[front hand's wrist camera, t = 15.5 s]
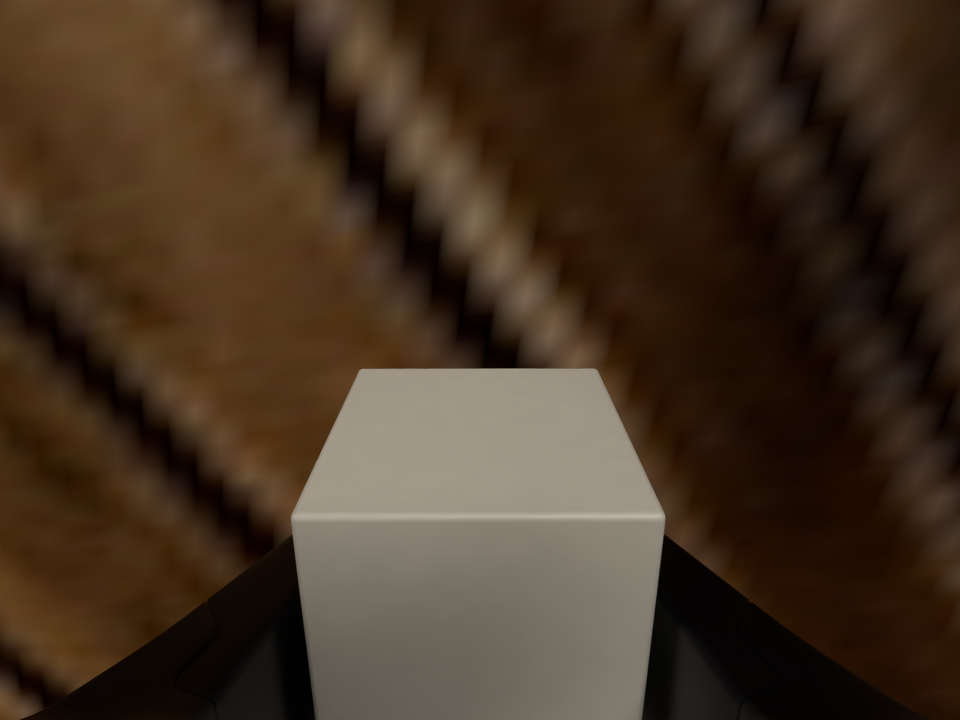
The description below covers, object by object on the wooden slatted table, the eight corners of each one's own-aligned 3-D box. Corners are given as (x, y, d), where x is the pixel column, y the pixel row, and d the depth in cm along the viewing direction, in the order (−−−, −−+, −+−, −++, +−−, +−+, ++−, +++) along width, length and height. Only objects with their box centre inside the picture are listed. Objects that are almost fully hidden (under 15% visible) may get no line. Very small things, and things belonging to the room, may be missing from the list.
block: (598, 366, 12) (668, 515, 7) (582, 594, 13) (632, 821, 9) (358, 366, 12) (287, 515, 7) (374, 595, 13) (325, 822, 9)
